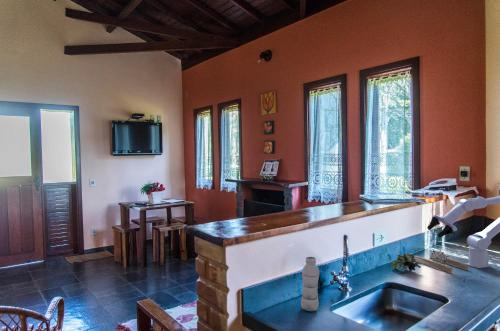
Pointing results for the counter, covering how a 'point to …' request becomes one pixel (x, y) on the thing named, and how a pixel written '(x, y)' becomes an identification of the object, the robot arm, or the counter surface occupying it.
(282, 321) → the counter surface
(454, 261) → the chute
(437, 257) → the beige textured ball
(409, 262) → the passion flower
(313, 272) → the plastic bottle
